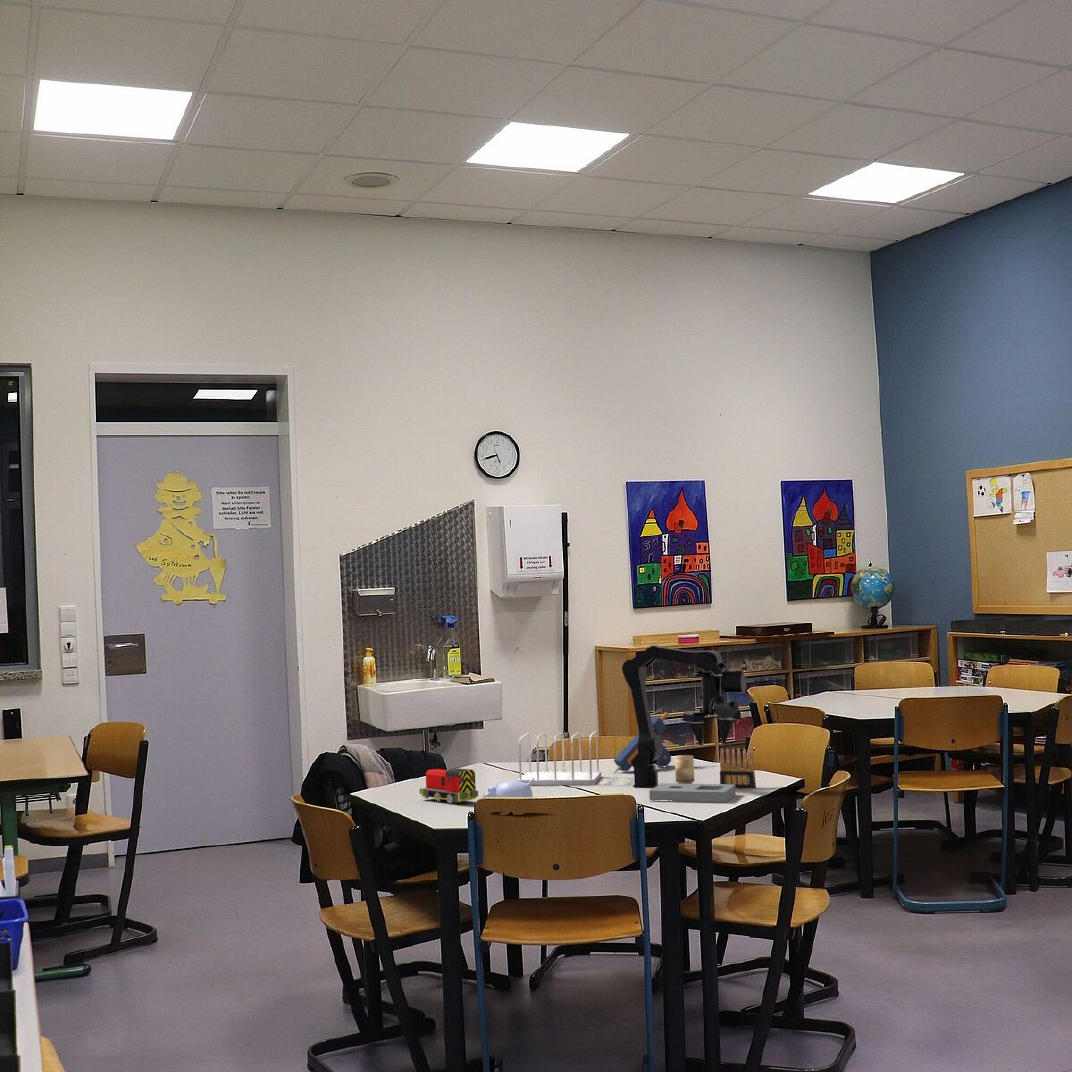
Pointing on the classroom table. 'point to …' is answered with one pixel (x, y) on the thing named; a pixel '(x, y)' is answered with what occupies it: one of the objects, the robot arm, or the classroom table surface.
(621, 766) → the glue gun
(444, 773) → the toy train
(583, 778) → the file sorter
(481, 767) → the classroom table surface
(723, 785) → the two-hole board
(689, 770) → the beech peg
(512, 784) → the hippopotamus toy
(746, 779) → the ammunition clip
